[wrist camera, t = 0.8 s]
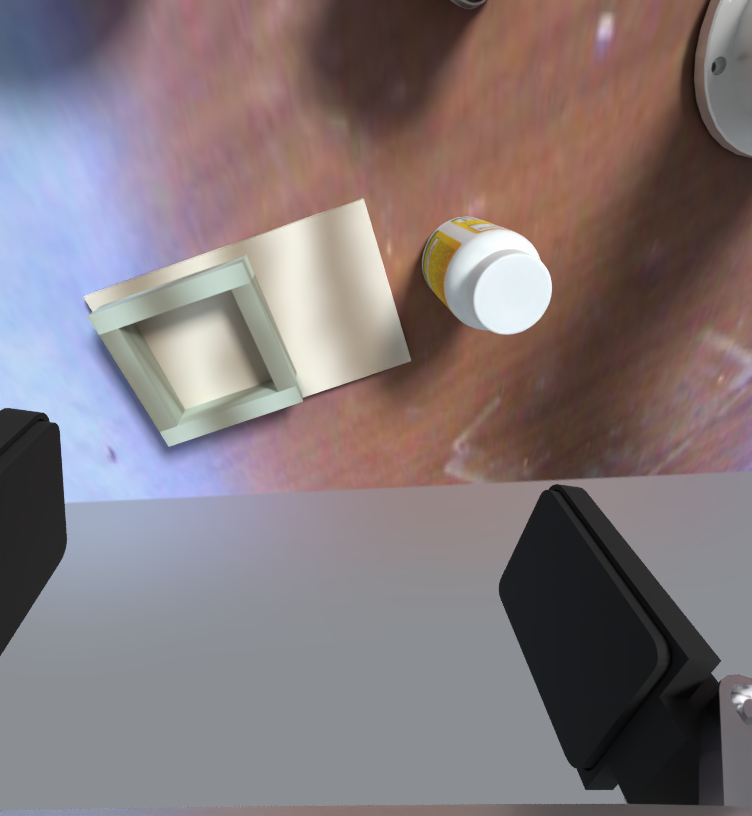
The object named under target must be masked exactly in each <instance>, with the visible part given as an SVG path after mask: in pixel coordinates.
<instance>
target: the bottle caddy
mask: <svg viewBox="0 0 752 816" xmlns="http://www.w3.org/2000/svg"><path fill="white" fill-rule="evenodd" d="M84 299H85V300H86V302H87V304H88V305H89V307H90V309H91V310H92V313H91V314H89V315H88V316H87V317H88V319H89V320H90V322H91V323H92V325H93V326H94V328H95V330H96V331H97V333H98V334H99V336H100V338H101V339H102V341H103V342H104V344H105V346H106V347H107V349H108V350H109V352H110V354H111V355H112V357H113V358H114V360H115V362H116V363H117V365H118V366H119V368H120V370H121V371H122V373H123V374H124V376H125V378H126V379H127V381H128V382H129V384H130V386H131V387H132V389H133V390H134V392H135V394H136V395H137V397H138V398H139V400H140V402H141V403H142V405H143V406H144V408H145V410H146V411H147V413H148V414H149V416H150V418H151V419H152V421H153V422H154V424H155V426H156V427H157V429H158V430H159V432H160V434H161V435H162V437H163V438H164V440H165V441H166V443H167V445H168V446H169V447H170V446H173V445H176V444H179V443H182V442H185V441H188V440H191V439H194V438H196V437H199V436H202V435H205V434H208V433H211V432H214V431H217V430H220V429H223V428H226V427H229V426H232V425H235V424H238V423H241V422H244V421H247V420H250V419H253V418H256V417H259V416H262V415H265V414H268V413H271V412H274V411H277V410H280V409H283V408H286V407H289V406H292V405H295V404H298V403H301V402H303V397H306V396H309V395H312V394H315V393H318V392H321V391H324V390H327V389H330V388H333V387H336V386H339V385H342V384H345V383H348V382H351V381H354V380H357V379H360V378H363V377H366V376H369V375H372V374H375V373H378V372H381V371H384V370H387V369H390V368H392V367H395V366H398V365H401V364H404V363H407V362H410V361H411V358H410V354H409V351H408V348H407V344H406V341H405V337H404V334H403V331H402V327H401V324H400V320H399V317H398V314H397V310H396V307H395V303H394V300H393V297H392V293H391V290H390V286H389V283H388V280H387V276H386V273H385V269H384V266H383V263H382V259H381V256H380V252H379V249H378V246H377V242H376V239H375V235H374V232H373V229H372V225H371V222H370V219H369V215H368V212H367V208H366V205H365V202H364V199H363V198H362V199H359V200H356V201H353V202H350V203H347V204H344V205H341V206H339V207H336V208H333V209H330V210H327V211H324V212H321V213H319V214H316V215H313V216H310V217H307V218H304V219H301V220H298V221H296V222H293V223H290V224H287V225H284V226H281V227H278V228H276V229H273V230H270V231H267V232H264V233H261V234H258V235H255V236H253V237H250V238H247V239H244V240H241V241H238V242H235V243H233V244H230V245H227V246H224V247H221V248H218V249H215V250H212V251H210V252H207V253H204V254H201V255H198V256H195V257H192V258H190V259H187V260H184V261H181V262H178V263H175V264H172V265H169V266H167V267H164V268H161V269H158V270H155V271H152V272H149V273H147V274H144V275H141V276H138V277H135V278H132V279H129V280H126V281H124V282H121V283H118V284H115V285H112V286H109V287H106V288H104V289H101V290H98V291H95V292H92V293H89V294H87V295H86V296H84Z"/></svg>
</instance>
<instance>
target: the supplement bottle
mask: <svg viewBox="0 0 752 816" xmlns="http://www.w3.org/2000/svg"><path fill="white" fill-rule="evenodd" d="M422 270H423V275H424V278H425V280H426V282H427V284H428V286H429V287H430V288H431V289H432V291H433V292H434V293H435V294H436V295H437V296H438V298H439V299H440V300H441V301H442V302H443V303H444V304H445V305H446V306H447V307H448V308H449V310H450V311H451V312H452V313H453V314H454V315H455V316H456V317H457V318H458V319H459V320H460V321H461V322H463V323H464V324H466V325H468V326H470V327H472V328H475V329H480V330H490V331H492V332H494V333H497V334H505V335H509V334H515V333H519V332H522V331H524V330H526V329H528V328H529V327H531V326H532V325H533V324H535V323H536V322H537V321H538V320H539V319H540V318H541V317H542V315H543V314H544V312H545V310H546V309H547V307H548V305H549V302H550V299H551V294H552V282H551V277H550V274H549V272H548V270H547V268H546V267H545V265H544V264H543V263H542V262H541V261H540V258H539V255H538V253H537V251H536V249H535V248H534V246H533V245H532V244H531V243H530V242H529V241H528V240H527V239H526V238H524V237H523V236H521V235H519V234H518V233H515V232H513V231H511V230H508V229H505V228H503V227H500V226H497V225H494V224H492V223H489V222H487V221H484V220H481V219H478V218H474V217H458V218H454V219H451V220H449V221H447V222H445V223H444V224H442V225H441V226H439V227H438V228H437V229H436V230H435V231H434V232H433V233H432V235H431V236H430V238H429V240H428V242H427V244H426V246H425V249H424V252H423V258H422Z"/></svg>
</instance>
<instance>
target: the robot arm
mask: <svg viewBox="0 0 752 816" xmlns="http://www.w3.org/2000/svg"><path fill="white" fill-rule="evenodd" d="M694 83H695V92H696V101H697V104H698V108H699V111H700V114H701V117H702V120H703V122H704V124H705V125H706V127H707V129H708V131H709V132H710V134H711V136H712V137H713V138H714V139H715V140H716V141H717V142H718V143H719V144H720V145H721V146H722V147H724V148H726V149H728V150H729V151H731V152H733V153H735V154H737V155H741V156H745V157H749V158H752V0H711V1H710V3H709V6H708V9H707V12H706V15H705V18H704V21H703V24H702V27H701V30H700V35H699V40H698V45H697V50H696V55H695V71H694ZM65 520H66V519H65V504H64V489H63V474H62V459H61V444H60V431H59V427H58V425H57V424H56V423H52V422H49V418H48V416H47V415H46V414H44V413H40V412H33V411H26V410H19V409H11V408H4V409H3V410H1V411H0V656H1V654H2V652H3V651H4V649H5V648H6V646H7V645H8V643H9V641H10V640H11V638H12V637H13V635H14V634H15V632H16V630H17V629H18V627H19V626H20V624H21V623H22V621H23V620H24V618H25V616H26V615H27V613H28V612H29V610H30V609H31V607H32V605H33V604H34V602H35V600H36V599H37V598H38V596H39V594H40V593H41V591H42V590H43V588H44V587H45V585H46V583H47V582H48V580H49V579H50V577H51V576H52V574H53V572H54V571H55V569H56V567H57V566H58V565H59V563H60V561H61V559H62V557H63V555H64V552H65V549H66V544H67V534H66V521H65ZM499 595H500V598H501V601H502V603H503V606H504V608H505V611H506V613H507V615H508V618H509V620H510V623H511V625H512V628H513V630H514V632H515V635H516V637H517V640H518V642H519V644H520V647H521V649H522V652H523V654H524V657H525V659H526V662H527V664H528V666H529V669H530V671H531V674H532V676H533V678H534V681H535V683H536V685H537V688H538V691H539V693H540V696H541V698H542V700H543V703H544V705H545V707H546V710H547V713H548V715H549V717H550V720H551V722H552V725H553V727H554V730H555V732H556V734H557V737H558V739H559V742H560V744H561V746H562V749H563V751H564V754H565V756H566V758H567V760H568V762H569V763H570V764H571V766H573V767H574V768H577V771H578V773H579V775H580V778H581V780H582V783H583V785H584V787H585V789H586V790H613V789H614V788H615V787H616V786H617V785H618V784H619V786H620V788H621V791H622V793H623V795H624V797H625V798H624V804H496V805H495V804H491V805H490V804H485V805H484V804H482V805H481V804H479V805H477V804H476V805H362V806H361V805H360V806H267V807H265V806H262V807H260V806H258V807H189V808H188V807H187V808H127V809H126V808H121V809H55V810H54V809H51V810H2V811H0V816H752V678H749V677H746V676H741V675H727V676H726V677H724V678H723V679H722V680H721V681H720V682H719V683H718V682H717V680H716V679H715V678H714V676H713V675H712V674H711V672H712V671H713V670H714V669H715V668H716V666H717V665H718V664H719V663H720V662H721V660H720V659H719V658H718V656H717V655H716V654H715V652H713V650H712V649H711V648H710V646H709V645H708V644H707V643H706V641H705V640H704V639H703V637H702V636H701V635H700V634H699V632H698V631H697V630H696V629H695V627H694V626H693V625H692V624H691V622H690V621H689V620H688V619H687V617H686V616H685V615H684V614H683V612H682V611H681V610H680V609H679V607H678V606H677V605H676V604H675V602H674V601H673V600H672V599H671V598H670V596H669V595H668V594H667V592H666V591H665V590H664V589H663V587H662V586H661V585H660V584H659V582H658V581H657V580H656V579H655V577H654V576H653V575H652V574H651V572H650V571H649V570H648V569H647V567H646V566H645V565H644V564H643V562H642V561H641V560H640V559H639V557H638V556H637V555H636V554H635V552H634V551H633V550H632V549H631V547H630V546H629V545H628V544H627V542H626V541H625V540H624V539H623V537H622V536H621V535H620V533H619V532H618V531H617V530H616V529H615V527H614V526H613V525H612V523H611V522H610V521H609V520H608V519H607V517H606V516H605V515H604V514H603V512H602V511H601V510H600V508H599V507H598V506H597V505H596V503H595V502H594V501H593V500H592V498H591V497H590V496H589V495H588V493H587V492H586V491H585V490H583V489H582V488H579V487H571V486H565V485H558V484H556V485H553V486H551V487H550V488H549V490H545V491H543V492H542V494H541V495H540V497H539V500H538V502H537V504H536V506H535V508H534V510H533V512H532V514H531V516H530V518H529V521H528V523H527V525H526V527H525V529H524V531H523V533H522V535H521V537H520V539H519V542H518V544H517V546H516V548H515V550H514V552H513V554H512V556H511V558H510V560H509V563H508V565H507V567H506V569H505V571H504V573H503V575H502V577H501V580H500V583H499Z"/></svg>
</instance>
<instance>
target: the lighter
mask: <svg viewBox="0 0 752 816" xmlns="http://www.w3.org/2000/svg"><path fill="white" fill-rule="evenodd" d="M450 1H452V2H453V3H455V4H457V5H458V6H460V7H462V8H465V9H473V8H477V7H478V6H480V5H481V4H483V3H484V2H485V1H486V0H450Z"/></svg>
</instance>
